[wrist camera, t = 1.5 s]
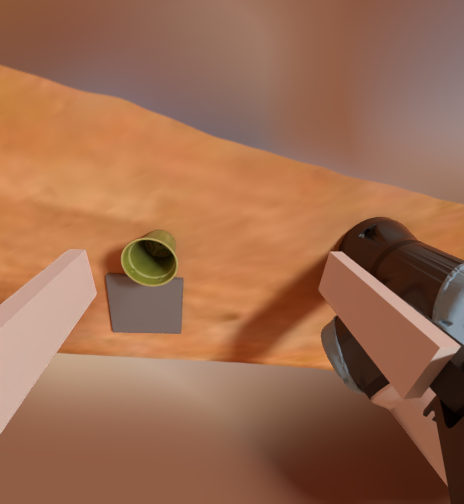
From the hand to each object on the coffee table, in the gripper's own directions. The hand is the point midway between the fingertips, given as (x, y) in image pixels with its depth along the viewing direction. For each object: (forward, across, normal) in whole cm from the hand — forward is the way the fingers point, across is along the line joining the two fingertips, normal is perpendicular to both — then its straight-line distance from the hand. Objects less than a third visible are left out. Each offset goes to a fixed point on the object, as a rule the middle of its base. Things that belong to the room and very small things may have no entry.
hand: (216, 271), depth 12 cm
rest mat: (+31, +13, +29) cm, 45 cm away
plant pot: (+32, +9, +13) cm, 36 cm away
